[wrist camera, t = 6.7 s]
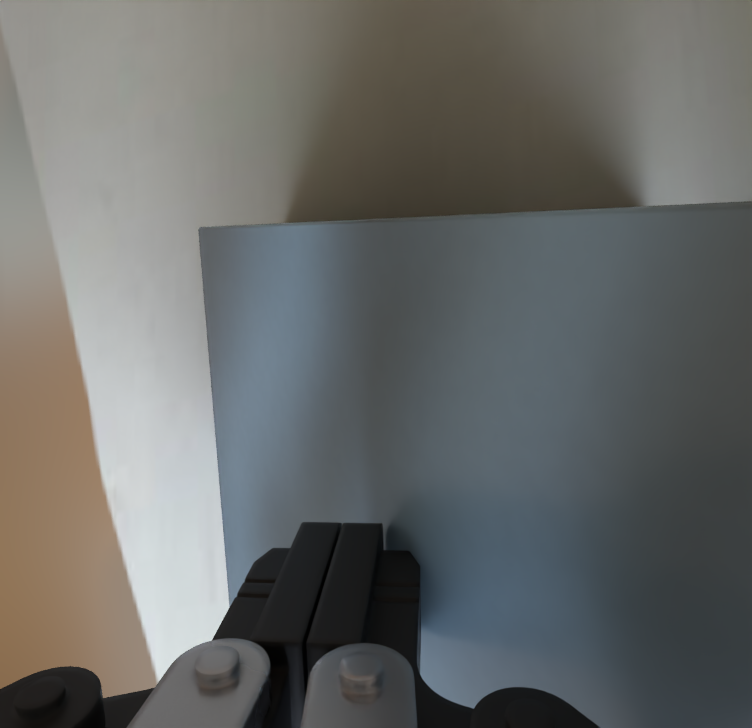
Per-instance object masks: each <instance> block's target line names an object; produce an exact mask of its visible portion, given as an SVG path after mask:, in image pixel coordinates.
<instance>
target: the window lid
mask: <svg viewBox="0 0 752 728" xmlns="http://www.w3.org/2000/svg"><path fill="white" fill-rule="evenodd" d="M198 231H199V243H200V255H201V267H202V279H203V291H204V303H205V315H206V327H207V339H208V351H209V363H210V375H211V387H212V399H213V411H214V423H215V435H216V447H217V460H218V472H219V484H220V496H221V508H222V520H223V532H224V544H225V556H226V568H227V580H228V592H229V604H230V606H231V604H232V602H233V600H234V598H235V597H237V593H238V591H239V589H240V587H241V585H242V584H243V583H245V578H246V576H247V574H248V572H249V570H250V569H251V567H252V565H253V563H254V562H255V561H256V560H257V559H259V558H260V557H261V556H263V555H264V554H265V553H267V552H268V551H269V550H270V549H272V548H291V545H292V543H293V541H294V539H295V536H296V534H297V532H298V530H299V527H300V525H301V523H302V522H337V523H342V525H343V523H382V525H383V539H384V550H401V551H410V552H411V554H412V555H413V557H414V558H415V559H416V561H417V562H418V564H419V565H420V586H421V659H420V675H421V677H422V679H423V680H424V682H425V683H426V684H427V685H428V686H429V687H430V688H431V689H432V690H433V691H434V692H436V693H437V694H439V695H440V696H442V697H444V698H446V699H448V700H450V701H452V702H455V703H457V704H460V705H463V706H467V707H470V708H473V709H474V708H475V706H476V704H477V703H478V702H479V701H480V700H481V699H482V698H483V697H485V696H486V695H488V694H490V693H492V692H494V691H496V690H500V689H504V688H510V687H527V688H534V689H538V690H542V691H545V692H548V693H551V694H553V695H555V696H557V697H559V698H561V699H563V700H564V701H566V702H567V703H569V704H570V705H571V706H573V707H574V708H575V709H577V710H578V711H579V712H581V713H582V714H583V715H585V716H586V717H587V718H588V719H590V720H591V721H592V722H594V723H595V724H596V725H598V726H599V727H600V728H752V201H750V202H728V203H707V204H685V205H664V206H642V207H621V208H599V209H578V210H556V211H535V212H513V213H492V214H470V215H449V216H427V217H406V218H384V219H363V220H341V221H320V222H298V223H277V224H255V225H234V226H212V227H200V228H199V230H198Z"/></svg>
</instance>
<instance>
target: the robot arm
mask: <svg viewBox="0 0 752 728" xmlns="http://www.w3.org/2000/svg"><path fill="white" fill-rule="evenodd" d="M420 659H421V586H420V565H419V564H418V562H417V561H416V559H415V558H414V557H413V555H412V554H411V552H410V551H401V550H384V539H383V525H382V523H343V525H342V523H337V522H302V523H301V525H300V527H299V530H298V532H297V534H296V536H295V539H294V541H293V543H292V545H291V548H272V549H270V550H269V551H268V552H267V553H265V554H264V555H263V556H261V557H260V558H259V559H257V560H256V561H255V562H254V563H253V565H252V567H251V569H250V570H249V572H248V574H247V576H246V578H245V583H243V584H242V585H241V587H240V589H239V591H238V593H237V597H235V598H234V600H233V602H232V604H231V606H230V608H229V610H228V612H227V613H226V615H225V617H224V619H223V621H222V623H221V625H220V627H219V628H218V630H217V632H216V634H215V636H214V638H213V640H212V641H209V642H205V643H202V644H200V645H198V646H195V647H193V648H191V649H190V650H188V651H186V652H185V653H183V654H182V655H181V656H179V657H178V658H177V659H176V660H175V661H174V662H173V663H172V665H171V666H170V667H169V668H168V670H167V671H166V673H165V674H164V676H163V677H162V678H161V680H160V681H159V683H158V684H157V685H156V687H155V688H151V689H148V690H143V691H138V692H133V693H128V694H123V695H118V696H113V697H107V698H103V696H102V689H101V683H100V680H99V678H98V677H97V676H96V675H95V674H94V673H93V672H92V671H89V670H87V669H84V668H80V667H71V666H70V667H58V668H51V669H48V670H43V671H40V672H37V673H34V674H32V675H29V676H27V677H24V678H22V679H20V680H18V681H16V682H14V683H12V684H10V685H8V686H6V687H4V688H2V689H0V728H600V727H599V726H598V725H596V724H595V723H594V722H592V721H591V720H590V719H588V718H587V717H586V716H585V715H583V714H582V713H581V712H579V711H578V710H577V709H575V708H574V707H573V706H571V705H570V704H569V703H567V702H566V701H564V700H563V699H561V698H559V697H557V696H555V695H553V694H551V693H548V692H545V691H542V690H538V689H534V688H527V687H510V688H504V689H500V690H496V691H494V692H492V693H490V694H488V695H486V696H485V697H483V698H482V699H481V700H480V701H479V702H478V703H477V704H476V706H475V708H474V709H473V708H470V707H467V706H463V705H460V704H457V703H455V702H452V701H450V700H448V699H446V698H444V697H442V696H440V695H439V694H437V693H436V692H434V691H433V690H432V689H431V688H430V687H429V686H428V685H427V684H426V683H425V682H424V680H423V679H422V677H421V675H420Z"/></svg>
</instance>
